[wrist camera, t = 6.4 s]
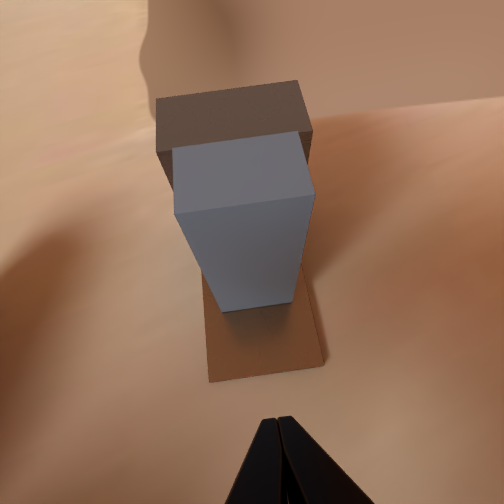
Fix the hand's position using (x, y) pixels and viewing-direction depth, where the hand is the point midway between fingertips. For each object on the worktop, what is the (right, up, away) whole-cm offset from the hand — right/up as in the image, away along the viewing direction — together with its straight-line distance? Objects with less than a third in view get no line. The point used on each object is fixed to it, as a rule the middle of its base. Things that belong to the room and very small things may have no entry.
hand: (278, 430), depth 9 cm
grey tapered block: (-1, +6, +11) cm, 13 cm away
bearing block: (-1, +3, +11) cm, 11 cm away
